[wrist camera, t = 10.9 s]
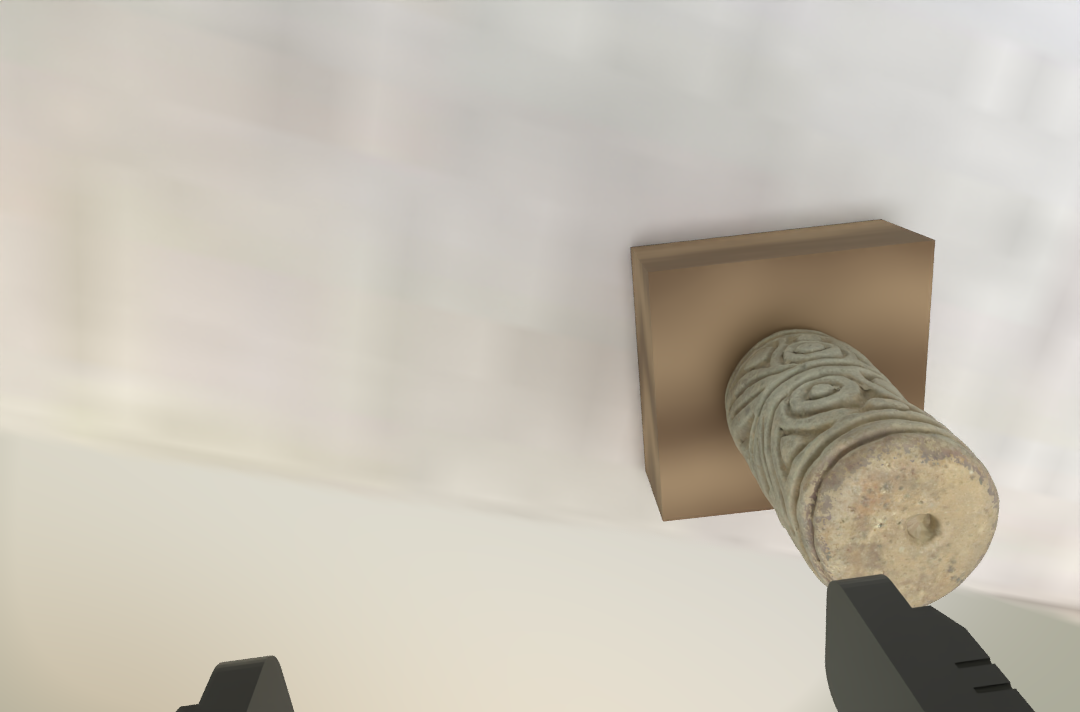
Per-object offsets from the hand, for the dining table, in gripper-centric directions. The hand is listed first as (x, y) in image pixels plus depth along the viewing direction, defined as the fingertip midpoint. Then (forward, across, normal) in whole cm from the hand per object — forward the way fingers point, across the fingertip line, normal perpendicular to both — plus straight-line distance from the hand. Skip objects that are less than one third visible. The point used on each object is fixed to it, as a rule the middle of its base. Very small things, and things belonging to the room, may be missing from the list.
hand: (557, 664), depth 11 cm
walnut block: (+27, -12, +7) cm, 30 cm away
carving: (+22, -11, +7) cm, 26 cm away
